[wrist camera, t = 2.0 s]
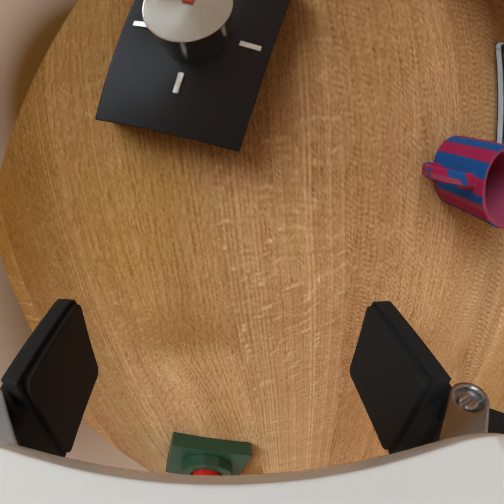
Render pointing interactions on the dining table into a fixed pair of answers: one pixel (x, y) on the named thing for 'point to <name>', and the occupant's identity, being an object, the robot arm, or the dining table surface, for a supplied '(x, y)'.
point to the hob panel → (192, 78)
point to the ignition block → (206, 455)
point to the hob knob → (190, 27)
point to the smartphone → (500, 91)
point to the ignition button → (206, 472)
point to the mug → (470, 177)
